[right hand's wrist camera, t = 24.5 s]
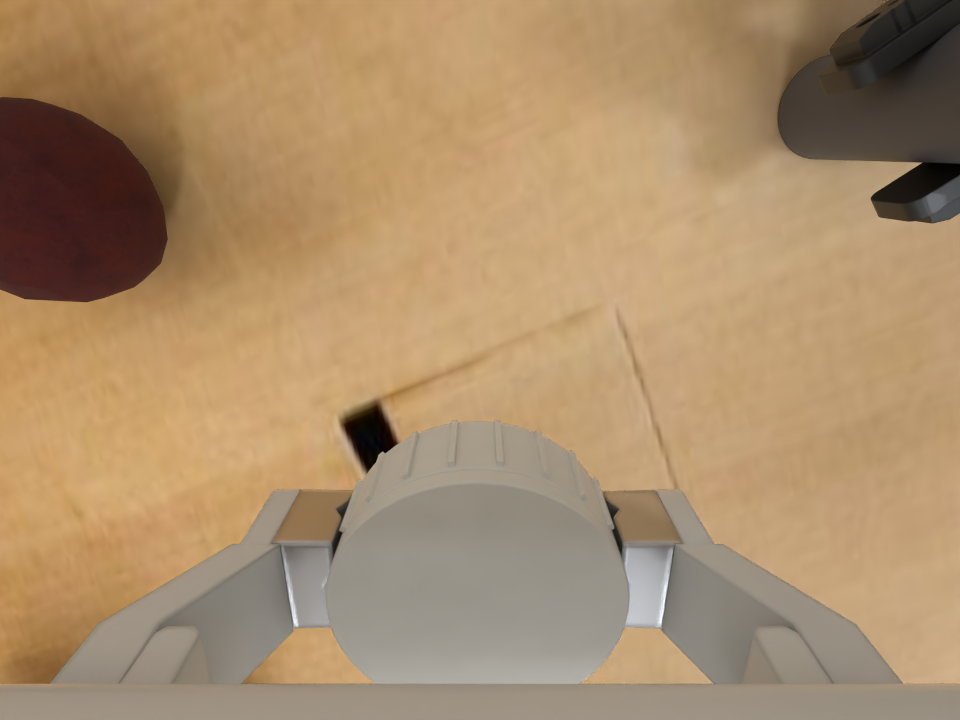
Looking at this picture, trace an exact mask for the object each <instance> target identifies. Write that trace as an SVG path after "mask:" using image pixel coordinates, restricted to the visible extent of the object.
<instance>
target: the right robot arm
mask: <svg viewBox="0 0 960 720" xmlns="http://www.w3.org/2000/svg"><path fill="white" fill-rule="evenodd" d="M353 491H354V490H313V489H303V490H301V489H277V490H275V491H273V492H272V493H271V495H270V496H269V498H268V499H267V501H266V503H265V504H264V506H263V508H262V509H261V511H260V512H259V514H258V516H257V517H256V519H255V521H254V522H253V524H252V525H251V527H250V529H249V530H248V532H247V534H246V535H245V537H244V538H243V540H242V542H241V543H240V544H231V545H230V546H228V547H226V548H225V549H223V550H221V551H220V552H218V553H216V554H215V555H213V556H211V557H209V558H208V559H206V560H204V561H203V562H201V563H199V564H198V565H196V566H194V567H193V568H191V569H189V570H188V571H186V572H184V573H183V574H181V575H179V576H177V577H176V578H174V579H172V580H171V581H169V582H167V583H166V584H164V585H162V586H161V587H159V588H157V589H156V590H154V591H152V592H151V593H149V594H147V595H146V596H144V597H142V598H140V599H139V600H137V601H135V602H134V603H132V604H130V605H129V606H127V607H125V608H124V609H122V610H120V611H119V612H117V613H115V614H114V615H112V616H110V617H108V618H107V619H105V620H103V621H102V622H100V623H98V625H97V626H96V627H95V628H94V629H93V631H92V632H91V633H90V634H89V636H88V637H87V638H86V639H85V641H84V642H83V643H82V644H81V645H80V647H79V648H78V649H77V650H76V652H75V653H74V654H73V655H72V656H71V658H70V659H69V660H68V661H67V663H66V664H65V665H64V666H63V668H62V669H61V670H60V671H59V672H58V674H57V675H56V676H55V677H54V679H53V680H52V681H51V682H50V684H0V720H960V684H903V683H902V682H901V680H900V679H899V678H898V677H897V675H896V674H895V673H894V672H893V670H892V669H891V668H890V666H889V665H888V664H887V663H886V661H885V660H884V659H883V658H882V656H881V655H880V654H879V653H878V651H877V650H876V649H875V648H874V646H873V645H872V644H871V643H870V641H869V640H868V639H867V638H866V636H865V635H864V634H863V632H862V631H861V630H860V629H859V627H858V626H857V625H856V624H855V623H853V622H851V621H850V620H848V619H846V618H845V617H843V616H841V615H840V614H838V613H836V612H835V611H833V610H831V609H830V608H828V607H826V606H825V605H823V604H821V603H820V602H818V601H816V600H815V599H813V598H811V597H810V596H808V595H806V594H805V593H803V592H801V591H800V590H798V589H796V588H795V587H793V586H791V585H790V584H788V583H786V582H785V581H783V580H781V579H780V578H778V577H776V576H775V575H773V574H771V573H770V572H768V571H766V570H765V569H763V568H761V567H760V566H758V565H756V564H755V563H753V562H752V561H750V560H748V559H747V558H745V557H743V556H742V555H740V554H738V553H737V552H735V551H733V550H732V549H730V548H728V547H727V546H725V545H723V544H714V542H713V541H712V539H711V537H710V536H709V534H708V532H707V531H706V529H705V527H704V526H703V524H702V523H701V521H700V519H699V518H698V516H697V514H696V513H695V511H694V509H693V508H692V506H691V505H690V503H689V501H688V500H687V498H686V496H685V495H684V493H683V491H681V490H679V489H658V490H635V491H602V493H603V496H604V499H605V502H606V505H607V508H608V510H609V513H610V516H611V519H612V522H613V525H614V529H612V531H613V534H614V537H615V540H616V543H617V546H618V549H619V552H620V555H621V558H622V560H623V563H624V567H625V570H626V574H627V578H628V582H629V593H630V600H629V612H628V616H627V620H626V624H625V627H632V628H662V630H661V631H662V632H663V633H664V634H665V635H666V636H667V637H668V638H669V639H670V640H671V641H672V642H673V643H674V644H675V645H676V646H677V647H678V648H679V649H680V650H681V651H682V652H683V653H684V654H685V655H686V656H687V657H688V658H689V659H690V660H691V661H692V662H693V663H694V664H695V665H696V666H697V667H698V668H699V669H700V670H701V671H702V672H703V673H704V674H705V675H706V676H707V677H708V678H709V679H710V680H711V681H712V682H713V683H714V684H241V683H242V682H243V681H244V680H245V679H246V678H247V677H248V676H249V675H250V674H251V673H252V672H253V671H254V670H255V669H256V668H257V667H258V666H259V665H260V664H261V663H262V662H263V661H264V660H265V659H266V658H267V657H268V656H269V655H270V654H271V653H272V652H273V651H274V650H275V649H276V648H277V647H278V646H279V645H280V644H281V643H282V642H283V641H284V640H285V639H286V638H287V637H288V636H289V635H290V634H291V633H292V632H293V628H322V627H331V626H330V623H329V620H328V614H327V609H326V591H325V590H326V583H327V577H328V573H329V570H330V567H331V564H332V561H333V558H334V555H335V552H336V550H337V547H338V544H339V541H340V538H341V536H342V533H343V532H341V531H339V529H340V526H341V524H342V521H343V518H344V516H345V513H346V510H347V507H348V505H349V502H350V499H351V496H352V494H353Z"/></svg>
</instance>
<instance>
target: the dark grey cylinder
mask: <svg viewBox="0 0 960 720" xmlns="http://www.w3.org/2000/svg"><path fill="white" fill-rule="evenodd" d="M832 63H834V59H833V57H832V55H828V56H824V57H821V58H819V59H817V60H815V61H813V62H811V63H810V64H808V65H807V66H805V67H804V68H803V69H801V70H800V71H799V72H798V73H797V74H796V76H795V77H794V78H793V79H792V80H791V82H790V83H789V85H788V86H787V88H786V90H785V92H784V94H783V97H782V99H781V102H780V106H779V112H778V125H779V130H780V134H781V136H782V139H783V140H784V142H785V144H786V145H787V146H788V147H789V149H791V150H792V151H793V152H794V153H796V154H797V155H799V156H802V157H805V158H808V159H824V160H857V161H891V162H924V163H958V164H960V24H958V25H957V26H955V27H954V28H953V29H951V30H950V31H949V32H947V33H946V34H944V35H943V36H941V37H940V38H939V39H937V40H936V41H934V42H933V43H931V44H930V45H928V46H927V47H925V48H924V49H922V50H921V51H919V52H918V53H916V54H915V55H913V56H912V57H910V58H909V59H907V60H906V61H904V62H903V63H902V64H900V65H899V66H897V67H896V68H894V69H893V70H891V71H890V72H888V73H887V74H885V75H884V76H882V77H881V78H879V79H878V80H876V81H875V82H873V83H871V84H869V85H867V86H865V87H863V88H861V89H858V90H855V91H850V92H844V93H839V94H833V95H825V92H824V90H823V88H822V86H821V83H820V81H819V79H818V76H817V75H818V74H819V73H820V72H821V71H822V70H824V69H825V68H826V67H828V66H829V65H831V64H832Z"/></svg>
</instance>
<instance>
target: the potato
mask: <svg viewBox="0 0 960 720" xmlns="http://www.w3.org/2000/svg"><path fill="white" fill-rule="evenodd" d="M166 243H167V231H166V224H165V216H164V209H163V206H162V204H161V201H160V199H159V197H158V195H157V192H156V190H155V188H154V186H153V184H152V181H151V179H150V177H149V175H148V172H147V171H146V170H145V168H144V167H143V166H142V165H141V164H140V162H139V161H138V160H137V159H136V157H135V156H134V155H133V154H132V153H131V151H130V150H129V149H128V148H127V147H126V145H125V144H124V143H123V142H122V141H121V140H120V139H119V138H117V137H116V136H114V135H113V134H111V133H110V132H108V131H106V130H105V129H103V128H101V127H100V126H98V125H97V124H95V123H93V122H92V121H90V120H89V119H87V118H85V117H84V116H82V115H80V114H78V113H75V112H72V111H69V110H66V109H63V108H60V107H57V106H54V105H51V104H48V103H44V102H40V101H37V100H33V99H23V98H8V97H2V98H0V289H1V290H3V291H6V292H8V293H11V294H13V295H16V296H19V297H21V298H24V299H33V300H53V301H73V302H89V301H93V300H97V299H101V298H105V297H108V296H111V295H113V294H116V293H119V292H122V291H125V290H127V289H130V288H133V287H135V286H136V285H138V284H139V283H140V282H141V281H143V280H144V279H145V278H146V277H147V276H148V275H149V274H150V273H151V272H152V271H153V270H154V269H155V268H156V267H157V266H158V265H159V264H160V263H161V261H162V257H163V254H164V250H165V246H166Z"/></svg>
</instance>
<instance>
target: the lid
mask: <svg viewBox="0 0 960 720" xmlns="http://www.w3.org/2000/svg"><path fill="white" fill-rule="evenodd" d="M612 529H614V525H613V522H612V519H611V516H610V513H609V510H608V508H607V505H606V502H605V499H604V496H603V493H602V490H601V487H600V485H599V482H598V480H597V478H593V479H592V478H591V477H590V475H589V474H588V472H587V471H586V469H585V468H584V467H583V466H582V465H581V464H580V463H579V462H578V460H577V458H576V455H575V453H574V452H573V451H572V450H570V451H569V452H567V451H566V450H565V449H564V448H562V447H561V446H559V445H558V444H556V443H554V442H553V441H551V440H550V439H548V438H546V437H544V436H542V432H540V431H537V430H536V431H535V432H533V431H530V430H527V429H524V428H521V427H518V426H513V425H508V424H503V423H501V421H499V420H495V422H485V421H474V422H459V423H458V420H456V421H452V423H451V424H446V425H442V426H439V427H435V428H431V429H428V430H426V431H423V432H421V433H418V432H417V431H416V432H413V433H412V434H411V437H410V438H408V439H406V440H405V441H403V442H401V443H399V444H398V445H396V446H395V447H394V448H392V449H391V450H390V451H388V452H387V453H386V454H385V453H384V452H382V453H380V454H379V456H378V459H377V462H376V463H375V464H374V465H373V467H372V468H371V469H370V471H369V472H368V473H367V475H366V476H365V477H364V479H363V481H361V480H358V481H357V483H356V486H355V488H354V491H353V494H352V496H351V499H350V502H349V505H348V507H347V510H346V513H345V516H344V518H343V521H342V524H341V526H340V529H339V531H341V532H343V533H342V536H341V538H340V541H339V544H338V547H337V550H336V552H335V555H334V558H333V561H332V564H331V567H330V570H329V573H328V577H327V583H326V590H325V591H326V609H327V614H328V620H329V623H330V626H331V629H332V631H333V634H334V636H335V638H336V640H337V642H338V644H339V645H340V647H341V649H342V650H343V652H344V653H345V654H346V656H347V657H348V658H349V660H350V661H351V662H352V663H353V664H354V665H355V666H356V667H357V668H358V669H359V670H360V671H361V672H362V673H363V674H364V675H366V676H367V677H368V678H369V679H371V680H372V681H373V682H374V683H376V684H580V683H581V682H582V681H584V680H585V679H587V678H588V677H589V676H590V675H591V674H592V673H594V672H595V671H596V670H597V669H598V668H599V667H600V666H601V665H602V664H603V663H604V661H605V660H606V659H607V658H608V657H609V655H610V654H611V653H612V651H613V649H614V648H615V646H616V645H617V643H618V641H619V639H620V637H621V635H622V632H623V630H624V628H625V624H626V620H627V616H628V612H629V600H630V593H629V582H628V578H627V574H626V570H625V567H624V563H623V560H622V558H621V555H620V552H619V549H618V546H617V543H616V540H615V537H614V534H613V531H612Z"/></svg>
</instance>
